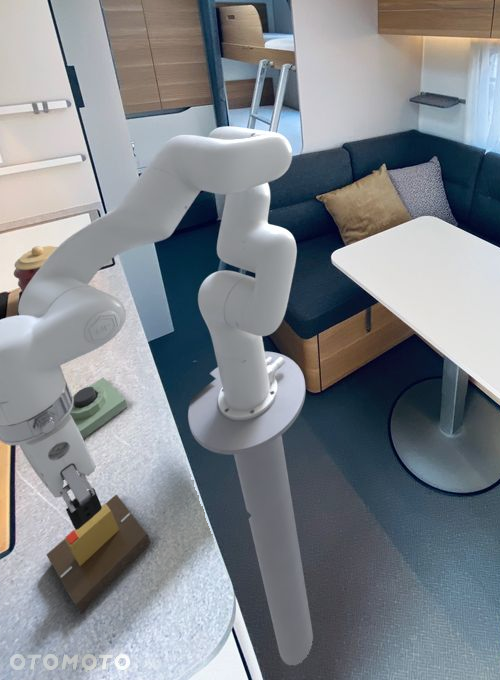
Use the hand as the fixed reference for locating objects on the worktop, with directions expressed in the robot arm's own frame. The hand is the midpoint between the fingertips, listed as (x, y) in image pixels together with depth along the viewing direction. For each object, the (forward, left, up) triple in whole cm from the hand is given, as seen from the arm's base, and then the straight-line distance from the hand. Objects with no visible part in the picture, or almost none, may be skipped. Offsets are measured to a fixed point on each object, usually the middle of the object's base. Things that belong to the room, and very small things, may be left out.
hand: (73, 495), depth 58 cm
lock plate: (0, 0, -14) cm, 14 cm away
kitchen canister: (-21, -78, -15) cm, 82 cm away
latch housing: (-10, -28, -14) cm, 33 cm away
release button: (-10, -28, -11) cm, 32 cm away
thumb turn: (0, 0, -12) cm, 12 cm away
